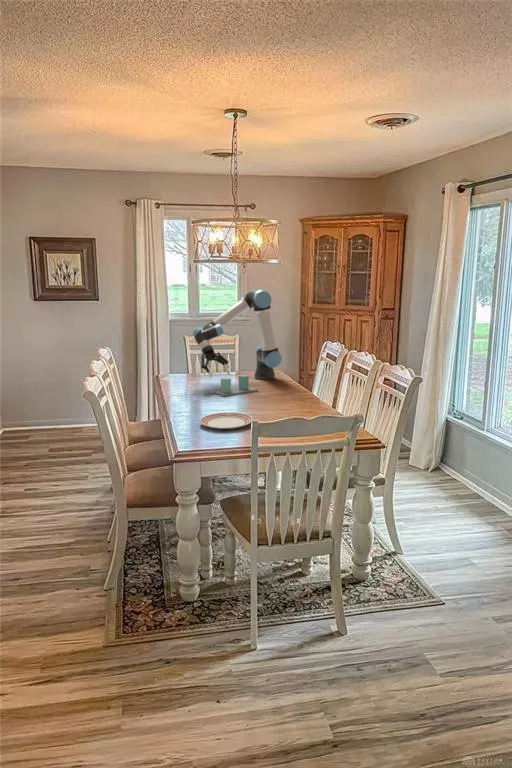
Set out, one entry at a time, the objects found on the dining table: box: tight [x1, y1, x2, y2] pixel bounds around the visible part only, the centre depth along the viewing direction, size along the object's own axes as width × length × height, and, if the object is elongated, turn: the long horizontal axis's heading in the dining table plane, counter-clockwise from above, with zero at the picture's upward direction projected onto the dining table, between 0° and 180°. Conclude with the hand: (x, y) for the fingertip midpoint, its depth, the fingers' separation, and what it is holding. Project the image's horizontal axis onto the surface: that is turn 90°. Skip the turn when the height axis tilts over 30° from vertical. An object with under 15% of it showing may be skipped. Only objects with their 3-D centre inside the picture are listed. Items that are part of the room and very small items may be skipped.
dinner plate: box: [199, 412, 253, 430], centre depth 309 cm, size 28×27×3 cm
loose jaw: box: [220, 377, 232, 393], centre depth 379 cm, size 5×5×10 cm
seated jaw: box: [238, 374, 250, 390], centre depth 387 cm, size 5×5×10 cm
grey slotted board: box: [211, 386, 258, 398], centre depth 384 cm, size 26×14×1 cm, turn 127°
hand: (220, 374), depth 382 cm, fingers open, 13 cm apart
